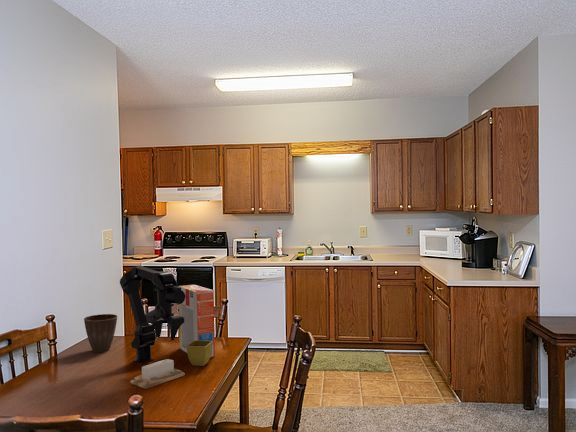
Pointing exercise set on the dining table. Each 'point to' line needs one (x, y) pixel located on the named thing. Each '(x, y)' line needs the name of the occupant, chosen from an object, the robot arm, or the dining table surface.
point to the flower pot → (199, 352)
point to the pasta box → (197, 316)
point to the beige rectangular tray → (156, 379)
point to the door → (157, 369)
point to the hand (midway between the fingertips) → (165, 338)
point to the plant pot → (100, 331)
